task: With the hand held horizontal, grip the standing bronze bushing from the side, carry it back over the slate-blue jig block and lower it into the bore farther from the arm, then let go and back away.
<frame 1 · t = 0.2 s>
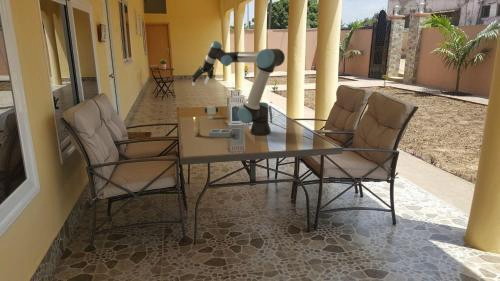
hand: (199, 84, 283), 35 cm above the table, tool tilted 35°, fingers open, 13 cm apart
pneumatic valve: (211, 118, 329), on the table
bushing: (197, 135, 269), on the table
jig: (220, 135, 269), on the table
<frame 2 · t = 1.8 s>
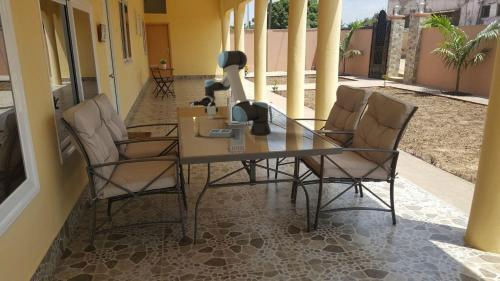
hand: (199, 106, 273), 20 cm above the table, tool horizontal, fingers open, 13 cm apart
nothing on the table moved.
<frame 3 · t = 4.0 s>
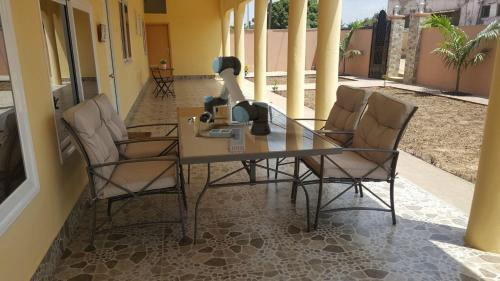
hand: (198, 123, 272), 8 cm above the table, tool horizontal, fingers open, 13 cm apart
nothing on the table moved.
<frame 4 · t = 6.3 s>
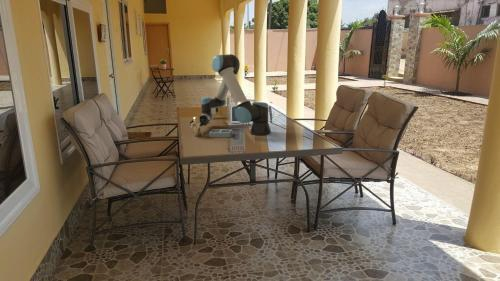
hand: (194, 126, 262), 9 cm above the table, tool horizontal, fingers closed on bushing, 4 cm apart
bushing: (197, 135, 269), on the table, touching gripper
everything else where it was.
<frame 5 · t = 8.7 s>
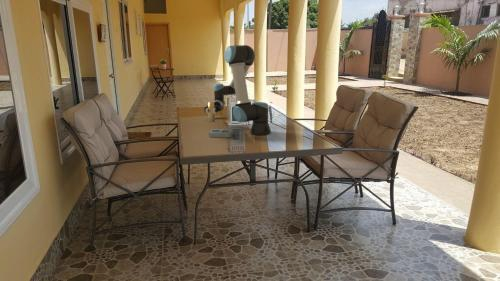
hand: (209, 111, 259), 19 cm above the table, tool horizontal, fingers closed on bushing, 4 cm apart
bushing: (212, 121, 267), point 10 cm above the table, touching gripper
everything else where it was.
when the fingers open (10 cm above the table, at t = 11.4 s): bushing drops 1 cm, resting in jig.
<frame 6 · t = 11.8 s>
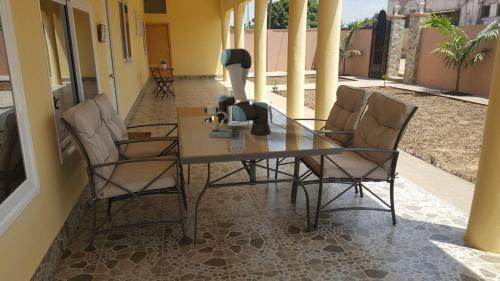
hand: (213, 123, 263), 10 cm above the table, tool horizontal, fingers open, 10 cm apart
bushing: (215, 135, 269), resting in jig
everything else where it was.
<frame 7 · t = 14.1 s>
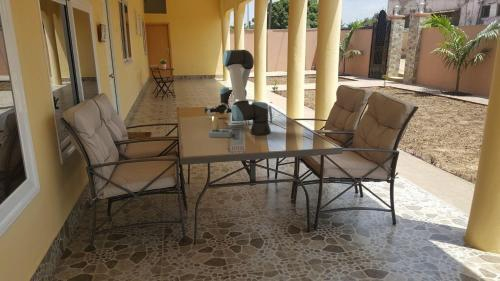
hand: (216, 112, 276), 15 cm above the table, tool horizontal, fingers open, 13 cm apart
nothing on the table moved.
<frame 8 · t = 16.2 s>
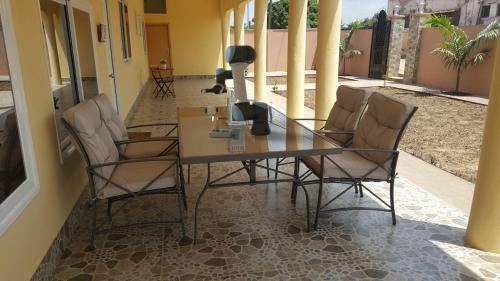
hand: (211, 92, 271), 30 cm above the table, tool horizontal, fingers open, 13 cm apart
nothing on the table moved.
at the end: bushing 0.1 cm from the target spot on the jig, point 0.0 cm above the jig's base; bushing tilted 0°; the gripper is holding nothing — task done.
